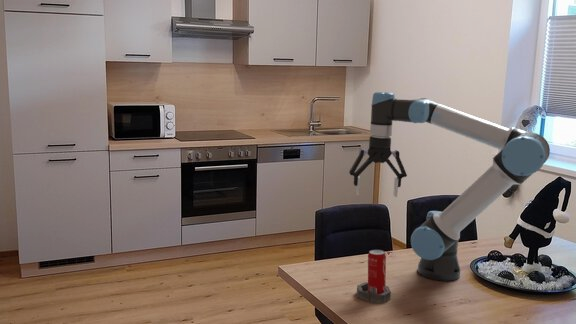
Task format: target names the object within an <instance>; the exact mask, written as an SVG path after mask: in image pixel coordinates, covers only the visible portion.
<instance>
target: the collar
mask: <svg viewBox="0 0 576 324" xmlns="http://www.w3.org/2000/svg"><path fill="white" fill-rule="evenodd" d="M391 293H392V292H391V289H390V287H389V286H388V285H386V292H384V293H382V294H371V293H368V281H366V282H361V283H360V284H357V285H356V296H357V297H358V299H359V300H362V301H365V302H367V303H374V304H375V303H379V304H381V303H385V302H387V301H389V300H391V295H392V294H391Z"/></svg>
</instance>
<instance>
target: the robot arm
mask: <svg viewBox="0 0 576 324" xmlns="http://www.w3.org/2000/svg"><path fill="white" fill-rule="evenodd" d="M370 106H371V108H370V109H371V112H370V127H369V128H370V130H369V135H370V136H369V142H368V149H363V148H360V149H359V153H358V156H357V157H356V159H355V161H354V163H353V164H352V166H351V168H350V169H349V172H348V174H349V175H350V176H353V185H354V186H355V194H356V196H360V188H361V187H360V186H361V177H360V175H361V174H362V173H363V172H364V171H365V170H366V169H367V168H368V167H369V166H370V165H371V164H372V163H376V164H377V163H378V164H379V163H380V164H384V163H386V164H387V166H388V167H389V168H390V169H391V171H392V172H393V173H394V174H395V177H394V183H393V184H394V185H393V197H396V198H397V197H398V189H399V188H401V185H402V179H403V178H406V177H408V174H407V171H406V169H405V167H404V164H403V162H402V161H401V158H400V151H398V150H397V149H396V150H395V149H394V150H391V147H392V138H391V136H392V135H393V134H392V132H393V121H394V122H404V123H413V124H425V123H427V124H431V125H433V126H436V127H439V128H441V129H445V130H447V131H449V132H452V133H455V134H457V135H460V136H463V137H465V138H467V139H469V140H470V139H471V140H473V141H476V142H479V143H481V144H484V145H486V146H488V147H489V146H490V147H492V148H495V149H498V150H499V152H497V153H496V154H495V156H494V157H493V158H492V165H491V166H490V167H489V168H488V169H487V170H486V171H484V172H483V174H482V175H481V176H480V177H478V178H477V179H476V180H475V181H474V182H472V184H470V186H469V187H467V189H465V190H464V191H463V192H462V193H461V194H460V195H459V196H458V197H456V199H455V200H453V201H452V202H451V204H449V205H448V206H447V207H446V208H445V209H444V210H443V211H439V210H430V211H428V212H427V215H426V220H425V221H424V222H423V223H422V224H421V225H420V226H419V227H416V228H415V229H414V230H413V232H412V234H411V236H410V245H411V249H412V251H413V253H415V254H416V255H417V256H418V257H419V258H420V259H419V261H418V263H417V273H418V274H419V275H421V276H422V277H425V278H427V279H430V280H435V281H445V282H446V281H450V282H451V281H455V280H458V279H459V278H460V277H461V267H460V263H459V258H458V247H459V240H460V238H461V232H462V231H463V230H464V229H465V228H466V227H467V226H468V225H470V224H471V223H472V222H473V221H474V220H475V219H476V218H477V217H478V216H480V215H481V214H482V213H483V212H484V211H485V210H486V209H488V208H489V207H490V206H491V205H492V204H493V203H494V202H495V201H496V200H498V199H499V198H500V197H501V196H502V195H503V194H504V193H506V191H507V190H509V189H511V187H512V186H513V185H522V184H523V183H525V181H527V180H528V179H529V178H530V177H532V175H534V174H535V173H537V172H538V171H539V170H540V169H541V168H542V167H543V166H544V164H545V163H546V162H547V160H548V159H549V156H550V154H551V153H550V151H551V149H550V145H549V142H548V141H547V139H546V138H545V137H544V136H542V135H540V134H538V133H536V132H531V131H527V130H524V129H522V128H521V129H520V128H518V127H514V126H513V127H510V128H508V127H505V126H502V125H499V124H497V123H494V122H491V121H489V120H486V119H483V118H480V117H476V116H474V115H472V114H468V113H465V112H463V111H459V110H457V109H454V108H452V107H448V106H446V105H443V104H441V103H437V102H434V101H433V100H432V99H429V98H426V97H423V98H422V97H421V98H417V99H399V98H395V93H393V92H389V91H388V92H387V91H376V92H374V93H373V94H372V99H371V105H370ZM366 155H368V158H367V159H366V160H365V161H364V163H362V160H363V158H364V157H365V156H366ZM391 156H392V157H394V159H395V161H396V164H397V166H398V169H399V170H400V172H399V171H398V170H397V168H396V167H395V166H394V164H393V162H392V161H391V160H390V159H389V158H390V157H391ZM360 163H362V164H361V166H360V167H359V165H360ZM358 167H359V168H358Z"/></svg>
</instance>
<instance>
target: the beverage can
mask: <svg viewBox="0 0 576 324" xmlns="http://www.w3.org/2000/svg"><path fill="white" fill-rule="evenodd" d="M386 265H387V255H386V252H385V250H383V249H371V250H369V251H368V255H367V282H368V293H371V294H382V293H384V292H386V286H387V285H386V284H387V283H386V282H387V281H386V280H387V279H386V277H387V275H386V274H387V267H386Z"/></svg>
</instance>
